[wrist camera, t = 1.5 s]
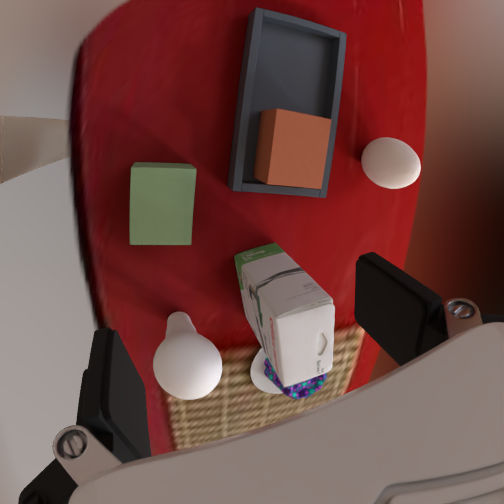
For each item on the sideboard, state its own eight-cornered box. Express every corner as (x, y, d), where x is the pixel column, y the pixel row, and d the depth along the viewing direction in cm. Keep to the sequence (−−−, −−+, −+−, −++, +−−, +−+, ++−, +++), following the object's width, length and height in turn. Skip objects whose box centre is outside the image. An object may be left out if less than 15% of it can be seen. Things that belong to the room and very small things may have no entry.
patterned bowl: (293, 396, 44) (307, 421, 39) (230, 377, 38) (241, 406, 34) (345, 339, 42) (364, 361, 38) (288, 309, 37) (307, 334, 32)
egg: (387, 177, 34) (433, 191, 27) (351, 184, 33) (397, 201, 26) (384, 133, 32) (432, 140, 25) (347, 137, 31) (395, 143, 24)
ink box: (232, 252, 32) (273, 316, 21) (277, 241, 33) (335, 295, 22) (245, 320, 36) (283, 392, 25) (285, 307, 37) (333, 372, 26)
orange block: (252, 177, 29) (266, 184, 25) (260, 110, 27) (276, 108, 23) (301, 181, 31) (321, 189, 27) (310, 119, 28) (331, 119, 25)
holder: (226, 186, 29) (232, 191, 27) (248, 14, 23) (255, 6, 21) (316, 193, 32) (325, 198, 30) (336, 37, 26) (346, 33, 24)
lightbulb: (216, 309, 34) (244, 378, 24) (185, 346, 35) (202, 419, 25) (170, 282, 31) (181, 352, 21) (140, 324, 32) (142, 399, 22)
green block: (132, 230, 28) (129, 245, 24) (134, 162, 26) (130, 167, 22) (186, 230, 30) (191, 245, 26) (191, 163, 27) (196, 168, 24)
